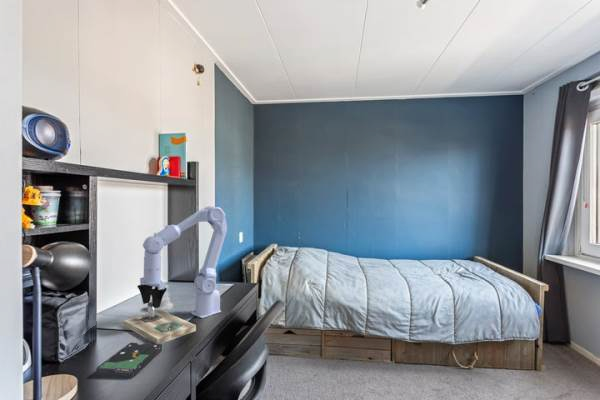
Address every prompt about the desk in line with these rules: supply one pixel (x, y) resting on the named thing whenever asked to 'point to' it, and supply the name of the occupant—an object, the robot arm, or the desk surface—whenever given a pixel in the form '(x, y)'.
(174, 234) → the robot arm
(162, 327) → the dock board
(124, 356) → the disk drive
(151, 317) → the steel pin
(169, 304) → the mechanical component
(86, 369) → the desk surface
